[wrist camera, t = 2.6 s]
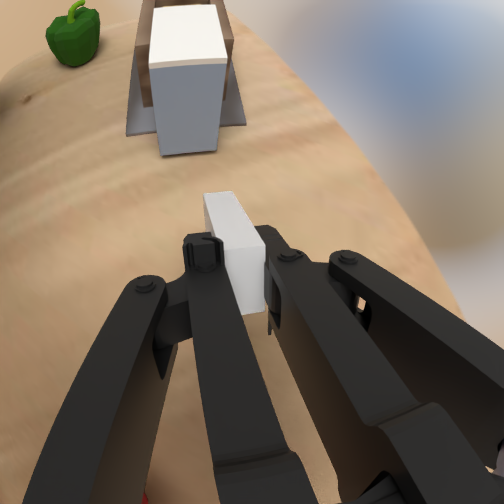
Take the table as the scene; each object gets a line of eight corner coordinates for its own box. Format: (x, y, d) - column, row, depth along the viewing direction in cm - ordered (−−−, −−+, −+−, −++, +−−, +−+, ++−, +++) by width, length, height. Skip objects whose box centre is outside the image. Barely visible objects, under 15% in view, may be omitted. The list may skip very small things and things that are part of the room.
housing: (126, 136, 32) (110, 72, 23) (134, 49, 38) (129, -4, 28) (246, 125, 35) (260, 60, 26) (226, 42, 40) (234, -11, 31)
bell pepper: (59, 81, 34) (41, 30, 25) (53, 56, 36) (39, 10, 26) (110, 58, 37) (101, 5, 27) (100, 36, 38) (91, -11, 29)
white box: (160, 155, 31) (148, 63, 20) (159, 92, 34) (154, 8, 22) (216, 150, 33) (227, 57, 21) (207, 88, 35) (215, 4, 24)
